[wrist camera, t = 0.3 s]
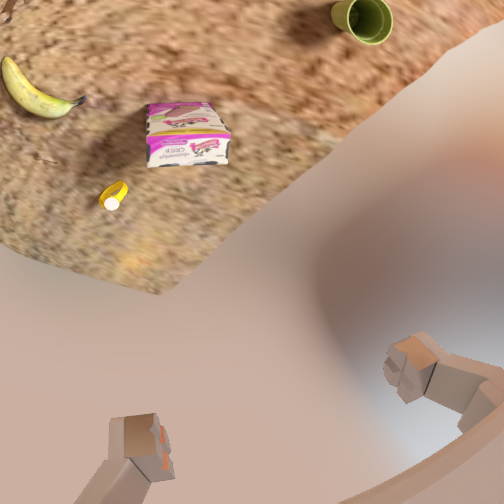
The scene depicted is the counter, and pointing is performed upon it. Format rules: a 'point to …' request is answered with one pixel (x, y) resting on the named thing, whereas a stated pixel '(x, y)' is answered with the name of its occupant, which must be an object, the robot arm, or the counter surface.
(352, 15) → the plant pot
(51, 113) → the banana
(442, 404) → the robot arm
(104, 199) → the watch
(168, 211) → the counter surface
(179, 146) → the candy bar box
